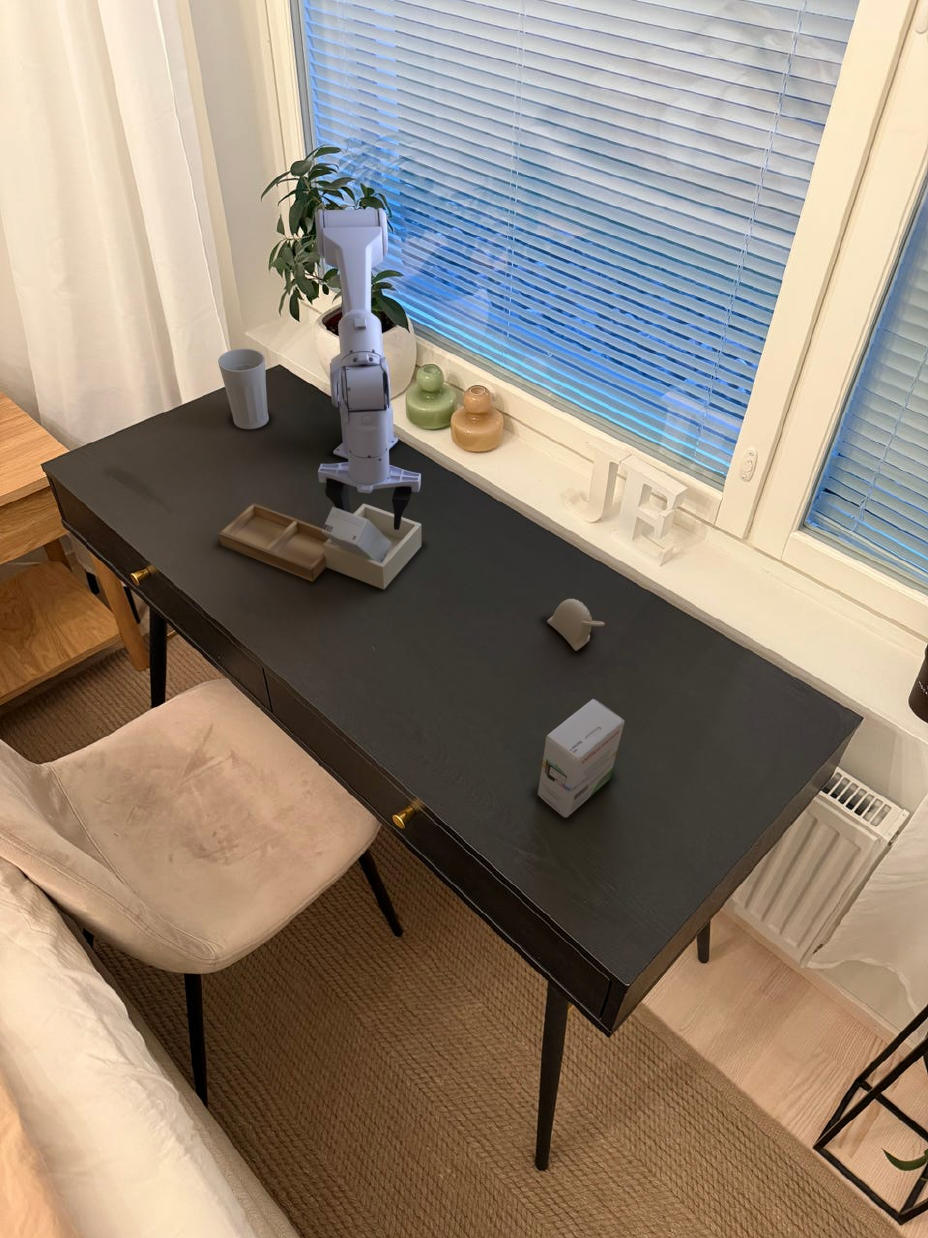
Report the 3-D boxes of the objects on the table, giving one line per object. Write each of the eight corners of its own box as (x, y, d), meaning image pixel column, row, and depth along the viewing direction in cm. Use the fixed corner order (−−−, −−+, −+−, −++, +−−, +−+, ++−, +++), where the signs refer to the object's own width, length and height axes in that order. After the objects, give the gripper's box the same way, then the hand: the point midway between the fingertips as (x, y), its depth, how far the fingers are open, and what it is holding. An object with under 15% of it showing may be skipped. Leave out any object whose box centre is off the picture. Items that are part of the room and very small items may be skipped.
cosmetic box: (393, 542, 136) (371, 517, 124) (381, 569, 135) (358, 546, 124) (357, 529, 137) (333, 503, 126) (345, 555, 137) (319, 531, 125)
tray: (255, 514, 144) (253, 502, 143) (344, 548, 139) (343, 536, 137) (221, 545, 139) (218, 533, 137) (312, 581, 133) (311, 569, 132)
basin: (364, 525, 143) (363, 503, 140) (421, 546, 140) (421, 523, 137) (325, 566, 136) (322, 544, 133) (383, 589, 133) (382, 567, 129)
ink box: (581, 755, 112) (593, 695, 104) (611, 779, 110) (627, 719, 102) (535, 794, 108) (544, 734, 100) (566, 820, 106) (577, 761, 97)
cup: (222, 428, 161) (211, 368, 153) (237, 405, 167) (227, 346, 158) (265, 433, 160) (256, 373, 152) (278, 410, 166) (270, 350, 158)
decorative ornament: (568, 611, 131) (572, 584, 127) (604, 647, 126) (609, 620, 122) (546, 621, 129) (549, 594, 125) (581, 658, 124) (586, 631, 120)
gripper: (309, 457, 121) (318, 534, 131) (414, 468, 120) (415, 545, 130) (321, 429, 126) (329, 505, 136) (423, 438, 125) (423, 515, 135)
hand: (372, 523), depth 133 cm, fingers open, 7 cm apart
